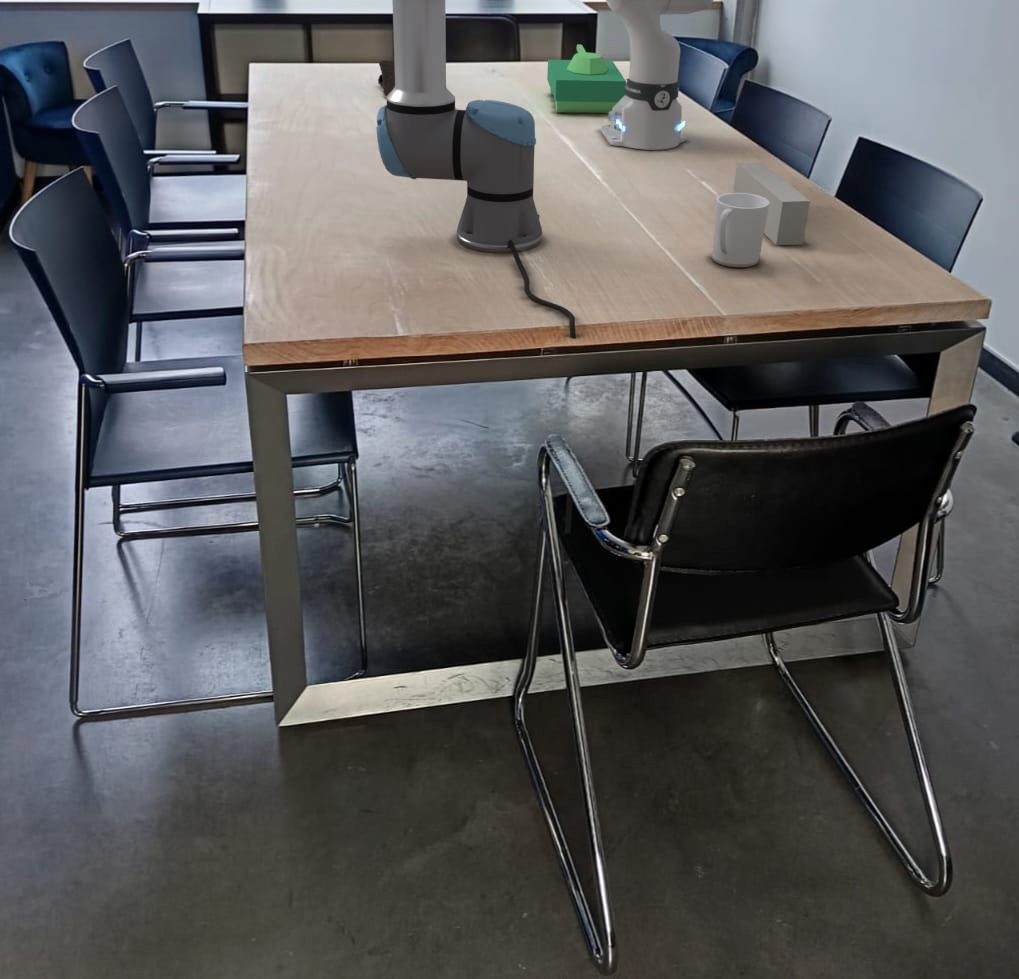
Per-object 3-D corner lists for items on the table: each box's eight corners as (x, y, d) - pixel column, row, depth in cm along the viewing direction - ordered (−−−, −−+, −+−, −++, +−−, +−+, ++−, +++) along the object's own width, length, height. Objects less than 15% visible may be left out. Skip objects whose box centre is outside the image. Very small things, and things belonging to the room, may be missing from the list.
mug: (725, 247, 195) (732, 189, 189) (770, 259, 190) (779, 200, 184) (692, 263, 187) (699, 203, 182) (739, 275, 183) (747, 215, 177)
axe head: (443, 87, 294) (392, 77, 287) (436, 115, 299) (385, 106, 292) (421, 62, 307) (371, 52, 300) (414, 89, 311) (365, 80, 304)
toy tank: (609, 41, 303) (627, 65, 273) (606, 87, 310) (623, 116, 280) (546, 39, 302) (556, 64, 272) (544, 86, 309) (554, 115, 279)
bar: (803, 244, 197) (810, 201, 193) (776, 245, 197) (782, 201, 192) (756, 201, 219) (761, 161, 215) (731, 202, 218) (736, 162, 214)
